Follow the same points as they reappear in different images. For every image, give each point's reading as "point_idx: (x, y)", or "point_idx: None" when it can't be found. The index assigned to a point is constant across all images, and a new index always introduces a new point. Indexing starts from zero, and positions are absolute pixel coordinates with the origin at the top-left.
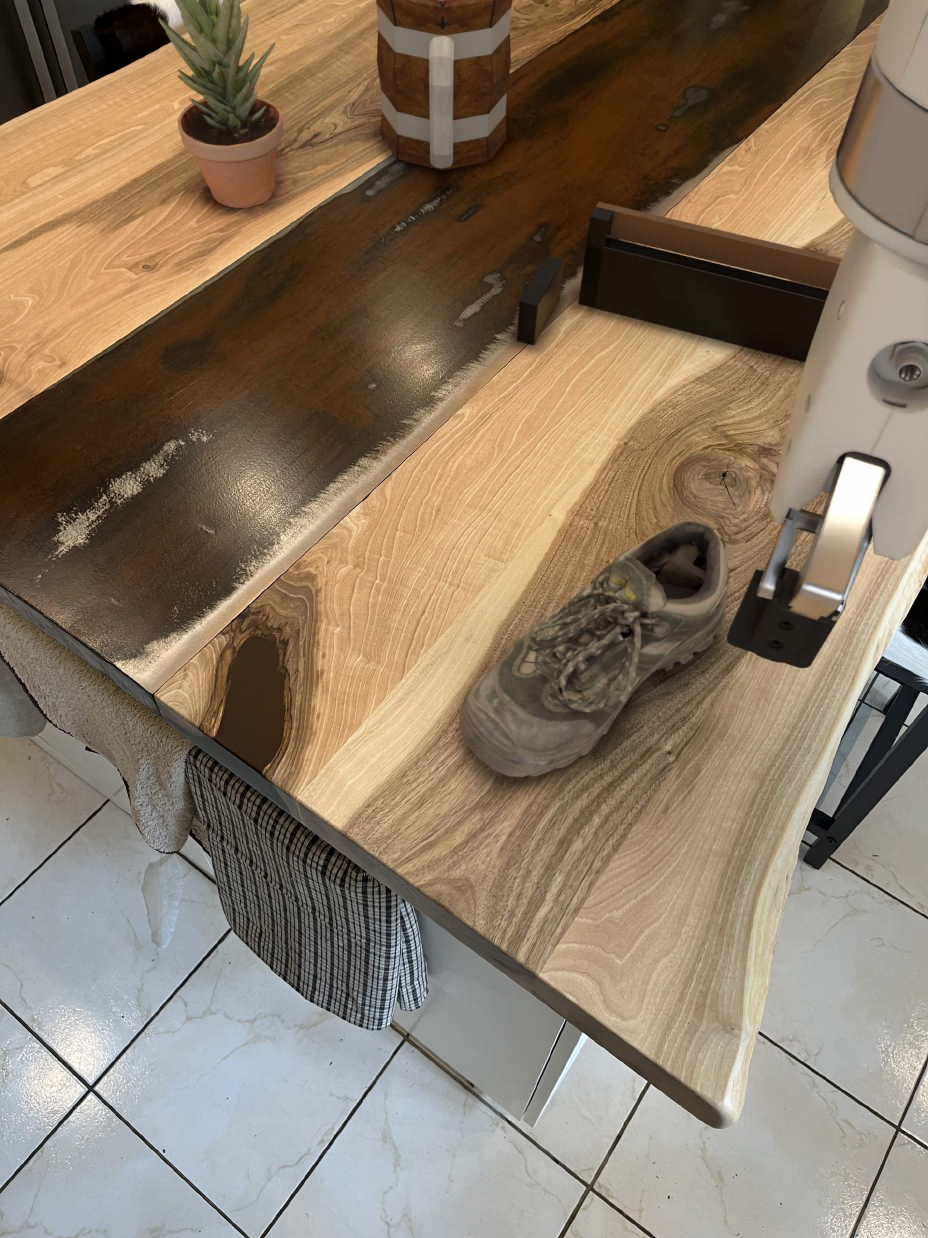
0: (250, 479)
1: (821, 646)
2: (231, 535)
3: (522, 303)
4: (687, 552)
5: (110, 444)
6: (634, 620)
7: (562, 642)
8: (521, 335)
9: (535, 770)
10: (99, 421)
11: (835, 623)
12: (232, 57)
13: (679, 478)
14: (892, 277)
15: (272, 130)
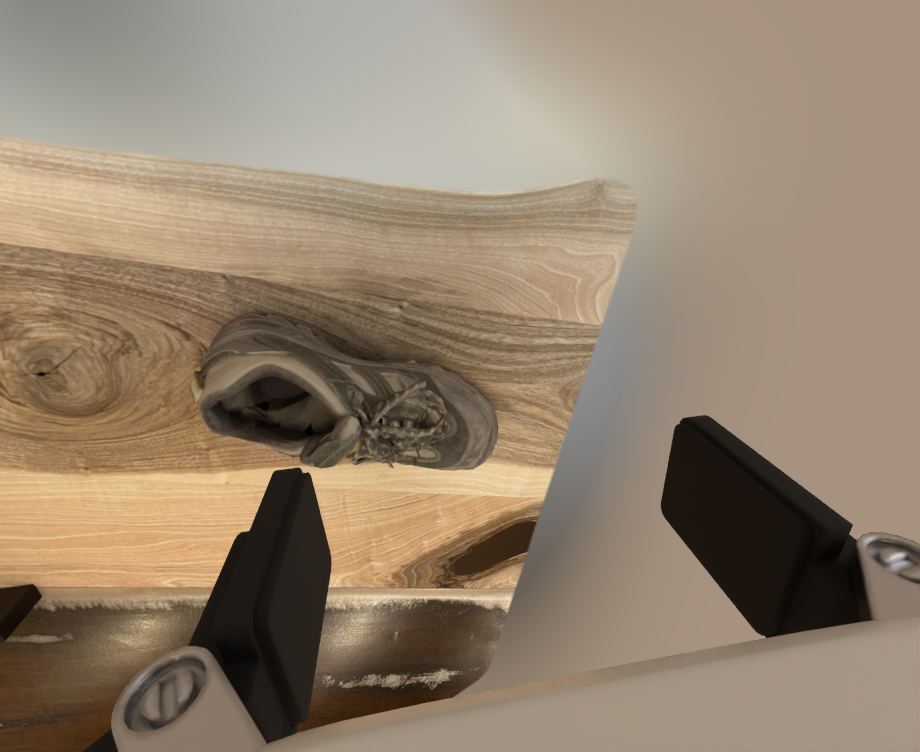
0: (342, 642)
1: (745, 445)
2: (392, 624)
3: (5, 636)
4: (228, 399)
5: (368, 704)
6: (373, 427)
7: (394, 446)
8: (34, 600)
9: (483, 398)
10: None
11: (803, 489)
12: None
13: (87, 410)
14: None
15: None
